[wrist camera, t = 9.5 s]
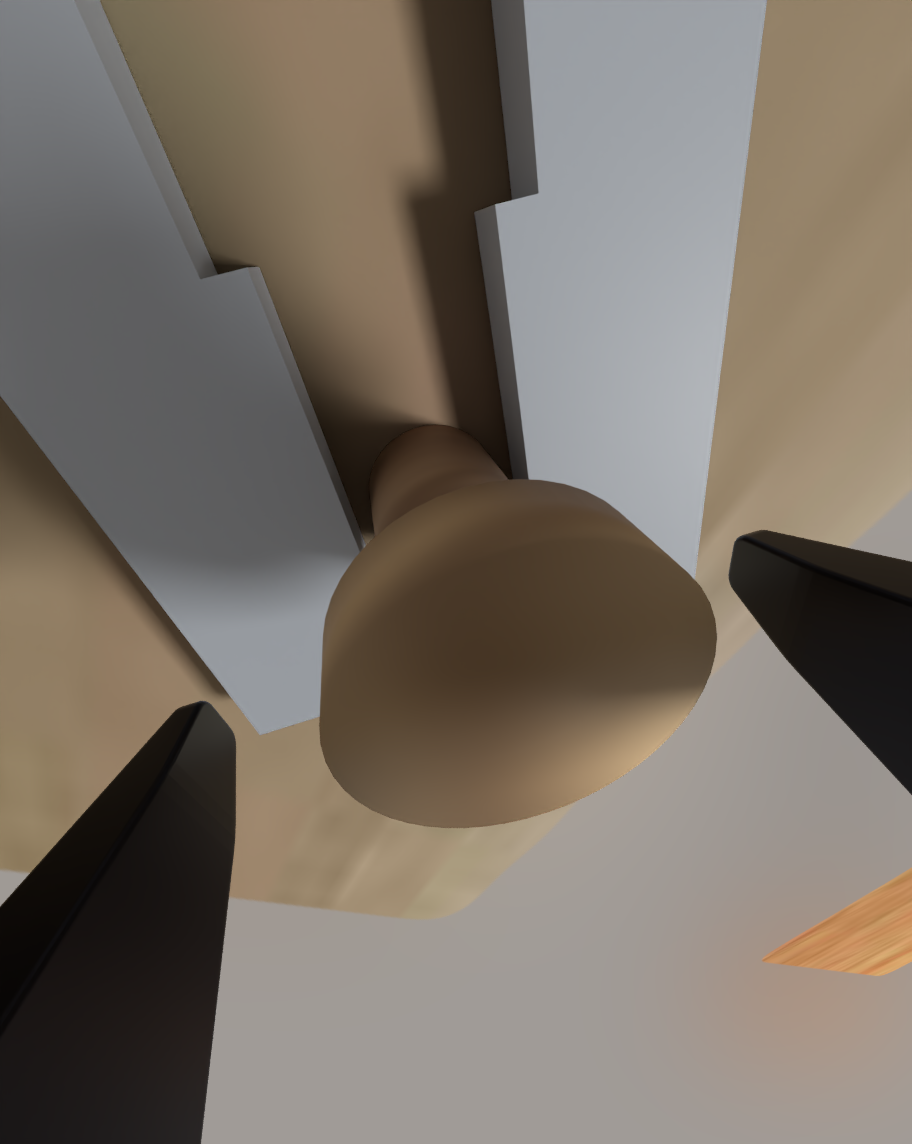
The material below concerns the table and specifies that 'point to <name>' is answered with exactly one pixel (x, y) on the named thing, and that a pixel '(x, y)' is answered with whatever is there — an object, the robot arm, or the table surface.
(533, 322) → the keyhole board
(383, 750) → the peg
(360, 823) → the table surface
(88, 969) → the robot arm
